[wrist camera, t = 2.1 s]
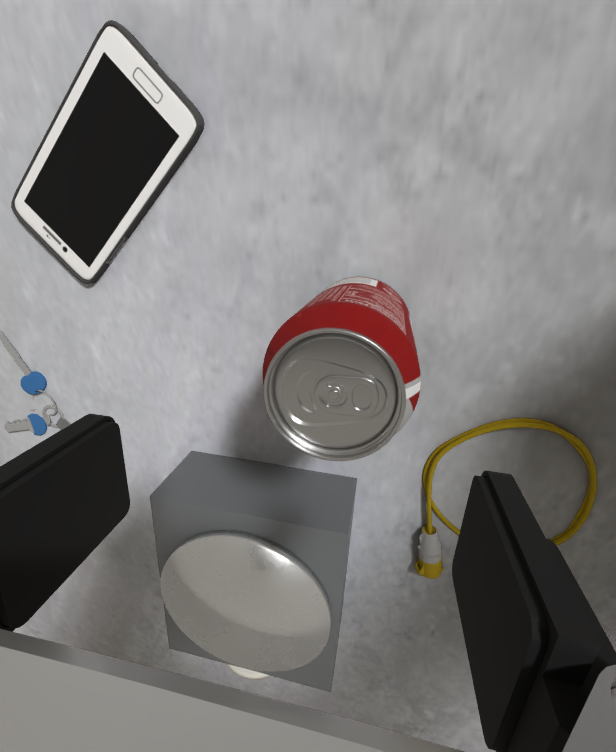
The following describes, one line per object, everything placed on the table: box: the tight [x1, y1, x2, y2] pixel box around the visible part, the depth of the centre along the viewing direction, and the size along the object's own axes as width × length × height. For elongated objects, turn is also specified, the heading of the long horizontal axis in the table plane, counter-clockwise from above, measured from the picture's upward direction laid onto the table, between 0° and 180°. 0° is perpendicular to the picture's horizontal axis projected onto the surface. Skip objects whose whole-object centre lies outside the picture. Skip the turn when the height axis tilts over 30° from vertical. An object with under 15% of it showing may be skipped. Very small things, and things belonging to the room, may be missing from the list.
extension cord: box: [414, 418, 597, 579], centre depth 28 cm, size 12×16×2 cm
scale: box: [150, 451, 357, 692], centre depth 31 cm, size 14×17×6 cm
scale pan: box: [160, 530, 332, 672], centre depth 28 cm, size 13×13×1 cm
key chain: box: [0, 331, 71, 435], centre depth 34 cm, size 14×8×1 cm, turn 40°
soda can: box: [263, 277, 421, 461], centre depth 20 cm, size 7×7×12 cm
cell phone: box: [11, 20, 204, 284], centre depth 25 cm, size 8×15×1 cm, turn 134°
